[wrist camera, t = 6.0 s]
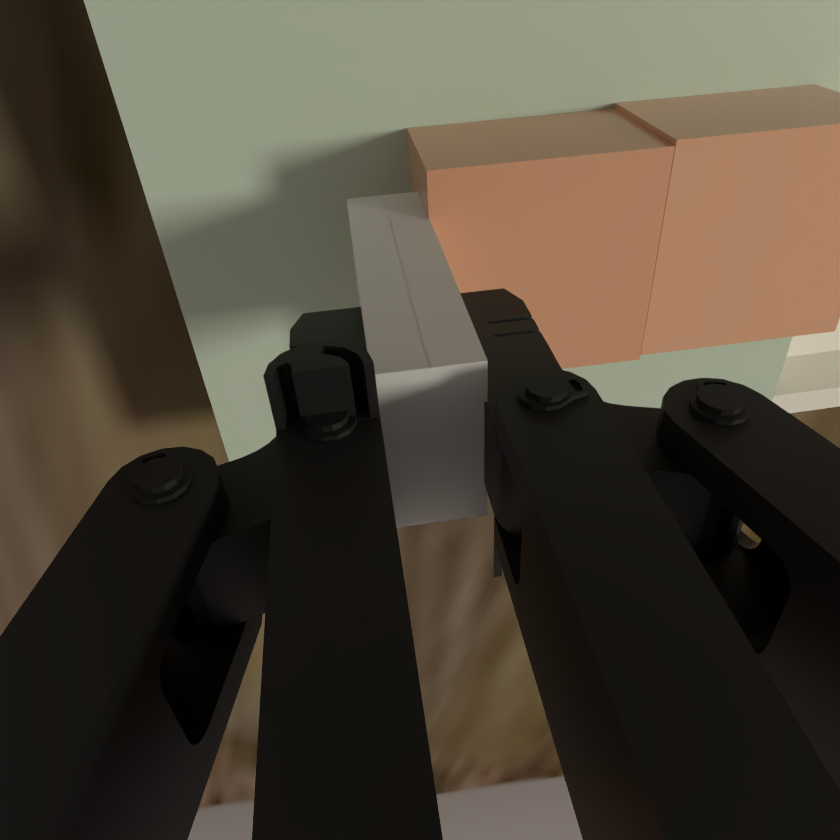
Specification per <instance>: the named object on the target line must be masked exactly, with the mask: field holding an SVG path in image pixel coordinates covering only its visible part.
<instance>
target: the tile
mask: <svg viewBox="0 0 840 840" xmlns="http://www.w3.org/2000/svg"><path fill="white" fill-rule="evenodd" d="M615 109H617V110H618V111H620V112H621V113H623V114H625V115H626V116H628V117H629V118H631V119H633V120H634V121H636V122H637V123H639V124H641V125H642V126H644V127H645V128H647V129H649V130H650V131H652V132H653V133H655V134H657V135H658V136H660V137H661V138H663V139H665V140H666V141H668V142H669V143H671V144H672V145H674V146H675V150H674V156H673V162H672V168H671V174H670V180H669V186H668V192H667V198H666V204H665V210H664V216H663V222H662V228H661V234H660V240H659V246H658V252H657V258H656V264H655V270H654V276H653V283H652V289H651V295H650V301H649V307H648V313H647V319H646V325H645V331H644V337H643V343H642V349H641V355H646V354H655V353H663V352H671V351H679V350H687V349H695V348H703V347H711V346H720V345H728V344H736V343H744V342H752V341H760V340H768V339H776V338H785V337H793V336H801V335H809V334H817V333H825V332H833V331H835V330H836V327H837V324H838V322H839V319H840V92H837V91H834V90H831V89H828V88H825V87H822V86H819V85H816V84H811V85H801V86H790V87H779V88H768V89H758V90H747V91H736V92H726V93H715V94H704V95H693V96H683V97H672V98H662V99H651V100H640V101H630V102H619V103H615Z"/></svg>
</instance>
